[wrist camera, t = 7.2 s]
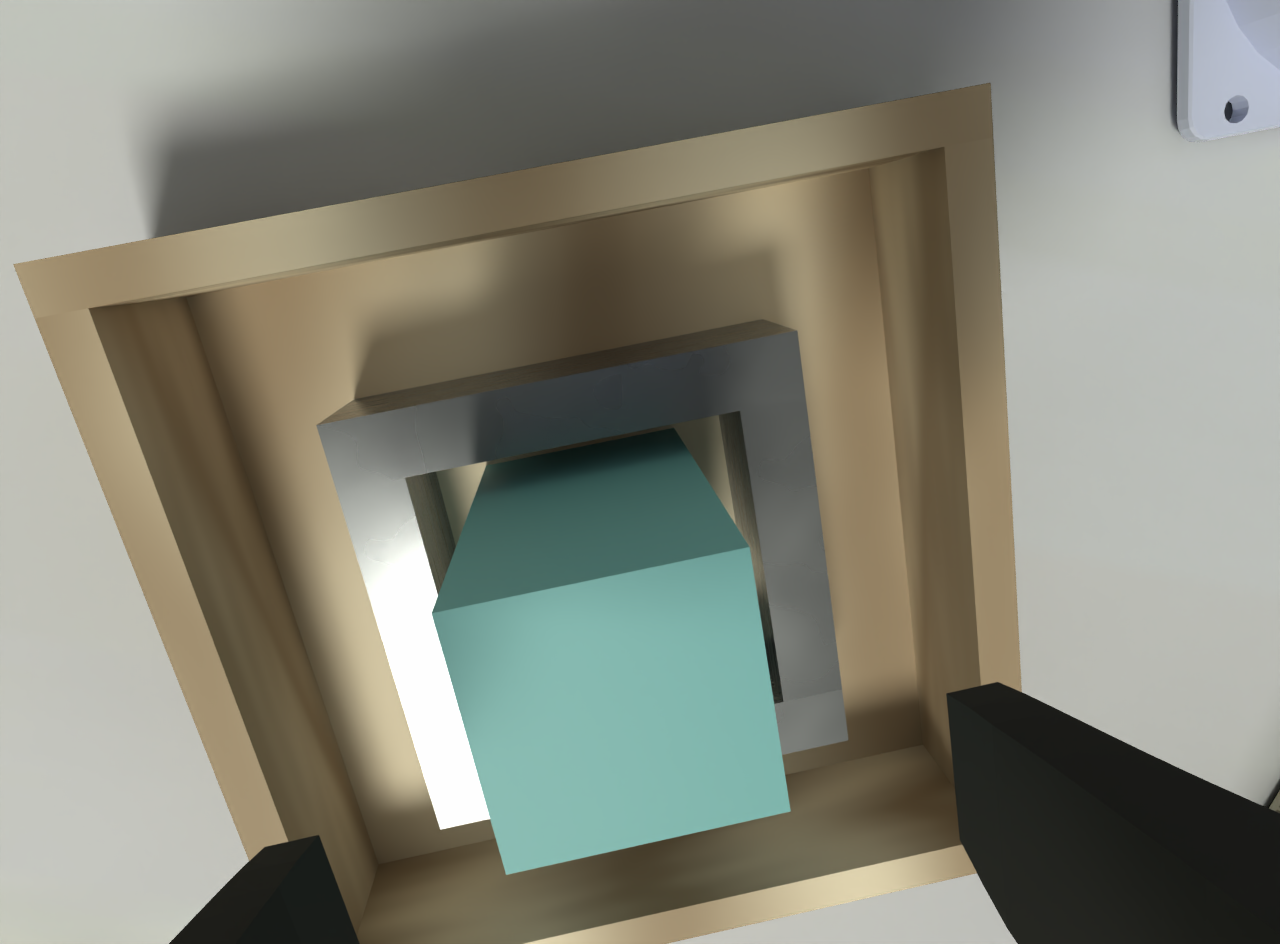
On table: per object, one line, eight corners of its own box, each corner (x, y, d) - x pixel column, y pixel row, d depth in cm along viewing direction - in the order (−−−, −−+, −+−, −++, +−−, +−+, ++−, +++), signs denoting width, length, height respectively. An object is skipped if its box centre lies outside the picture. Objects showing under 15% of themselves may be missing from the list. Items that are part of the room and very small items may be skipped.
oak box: (888, 124, 16) (990, 82, 12) (941, 745, 20) (1029, 861, 16) (150, 261, 15) (13, 264, 12) (362, 873, 20) (313, 1024, 16)
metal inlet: (762, 318, 16) (797, 330, 14) (811, 677, 18) (848, 740, 16) (354, 399, 16) (316, 425, 13) (456, 752, 18) (440, 829, 16)
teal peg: (674, 427, 16) (749, 546, 10) (704, 598, 18) (790, 811, 11) (486, 465, 16) (431, 613, 10) (528, 636, 17) (505, 875, 11)
